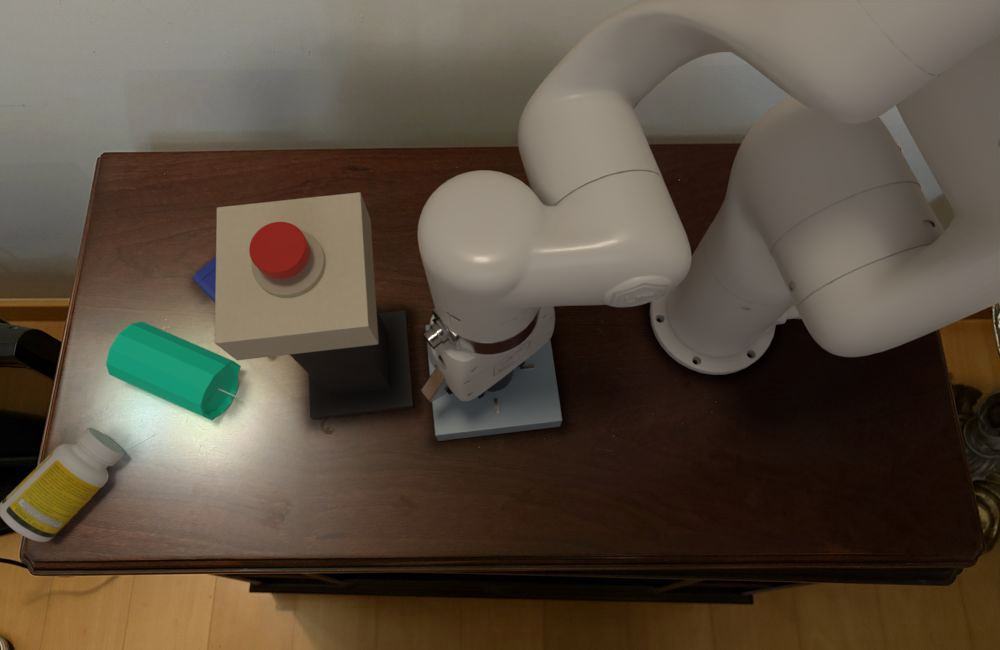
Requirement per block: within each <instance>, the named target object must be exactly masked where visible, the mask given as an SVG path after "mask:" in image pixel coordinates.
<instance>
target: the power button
mask: <svg viewBox="0 0 1000 650" xmlns="http://www.w3.org/2000/svg"><path fill="white" fill-rule="evenodd" d="M249 253H250V257H251V260H252V262H253V263H254V264H255V266H256V267H257V268H258V269H259V271H260V272H261V273H262V274H264V275H265V276H267V277H269V278H272V279H287V278H291V277H293V276H295V275H297V274H298V273H300V272H301V271H302V270H303V269H304V267H305V266H306V265H307V263H308V260H309V257H310V246H309V243H308V241H307V240H306V238H305V236H304V235H303V233H302V231H301V230H300V229H299V228H298V227H296V226H295V225H293V224H290V223H287V222H273V223H270V224H267V225H265V226H264V227H262V228H261V229H259V230H258V231H257V232H256V233H255V235H254V236H253V238H252V240H251V243H250V247H249Z"/></svg>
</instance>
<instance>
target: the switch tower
mask: <svg viewBox="0 0 1000 650" xmlns="http://www.w3.org/2000/svg"><path fill="white" fill-rule="evenodd" d="M371 221H372V220H371V216H370V214H369V211H368V209H367V206H366V202H365V201H364V198H363V196H362V193H361V192H360V191H359V192H348V193H339V194H331V195H330V194H329V195H322V196H321V195H320V196H310V197H303V198H294V199H285V200H284V199H283V200H275V201H265V202H256V203H245V204H237V205H227V206H218V207H216V229H215V231H216V233H215V234H216V236H215V237H216V238H215V239H216V240H215V257H216V296H215V302H214V306H215V307H214V309H215V310H214V344H215V345H216V346H217V347H219V348H220V349H222V351H224V352H225V353H226V354H227V355H229V356H230V357H231V358H233V359H234V360H235V361H244V360H253V359H260V358H261V359H263V358H270V357H279V356H287V355H289V356H290V357H291V358H292V359H293V360H294V361H295V362H296V363H297V364H298V365H299V366H300V367H301V368H302V369H303V370H304V371H305V372H306V373H307V374H308V392H309V393H308V395H309V418H310V419H311V420H312V421H317V420H327V419H334V418H343V417H351V416H361V415H370V414H377V413H385V412H386V413H387V412H395V411H404V410H411V409H415V397H414V385H413V371H412V360H411V359H412V358H411V347H410V346H411V345H410V333H409V322H408V320H409V319H408V313H407V310H406V309H403V310H394V311H386V312H378V310H377V297H376V283H375V282H376V280H375V267H374V252H373V236H372V235H373V234H372V222H371ZM273 222H287V223H290V224H293V225H295V226H296V227H298V228H299V229H300V230H301V231H302V233H303V235H304V236H305V238H306V240H307V241H308V243H309V246H310V257H309V260H308V263H307V265H306V266H305V267H304V269H303V270H302V271H301V272H300V273H298V274H297V275H295V276H293V277H291V278H287V279H272V278H269V277H267V276H265V275H264V274H262V273H261V272H260V271H259V269H258V268H257V267H256V266H255V264H254V263H253V262H252V260H251V257H250V253H249V247H250V243H251V240H252V238H253V236H254V235H255V233H256V232H257V231H258V230H259V229H261V228H262V227H264V226H265V225H267V224H270V223H273Z"/></svg>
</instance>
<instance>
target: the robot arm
mask: <svg viewBox="0 0 1000 650" xmlns="http://www.w3.org/2000/svg"><path fill="white" fill-rule="evenodd" d="M718 53H731V54H733V55H735V56H736V57H738V58H739V59H742V61H743V62H746V63H747V64H748V65H750V66H751V67H753V69H755V70H756V71H758V72H759V74H761V75H762V76H764V77H765V78H766V79H768V80H769V81H770V82H771V83H772V84H774V85H775V86H777V87H778V88H779V89H781V90H782V91H783V92H785V93H786V94H787V95H788V97H786V98H785V99H783V100H781V101H780V102H778V103H776V104H774V106H772V107H771V108H769V109H768V110H767V111H766V112H765V113H764V114H763V115H762V116H760V117H759V118H758V119H757V120H756V122H755V123H754V124H753V125H752V126H751V128H750V129H749V131H747V133H746V135H745V136H744V138H743V140H742V142H741V143H740V145H739V147H738V149H737V151H736V154H735V157H734V160H733V163H732V166H731V170H730V172H729V177H728V178H729V179H728V183H727V187H726V193H725V196H724V200H723V202H722V204H721V206H720V208H719V210H718V212H717V213H716V215H715V217H714V219H713V221H712V222H711V223H710V225H709V226H708V228H707V230H706V231H705V233H704V235H703V237H702V238H701V240H700V242H699V243H698V245H697V247H696V248H695V250H694V251H693V253H692V249H691V244H690V241H689V238H688V234H687V233H686V230H685V228H684V225H683V223H682V221H681V218H680V215H679V213H678V211H677V209H676V206H675V204H674V202H673V199H672V197H671V194H670V192H669V190H668V187H667V186H666V183H665V180H664V177H663V175H662V172H661V170H660V168H659V166H658V164H657V161H656V158H655V156H654V154H653V152H652V149H651V147H650V144H649V142H648V140H647V137H646V135H645V133H644V130H643V127H642V125H641V123H640V120H639V118H638V115H637V113H636V111H635V109H636V107H637V106H638V105H639V103H641V101H642V100H644V98H645V97H646V96H647V95H648V94H649V93H651V92H652V90H654V89H655V88H656V87H657V86H658V85H659V84H661V82H663V81H664V80H665V79H666V78H667V77H668V76H670V75H671V74H673V72H675V71H676V70H678V69H679V68H681V67H683V66H685V65H686V64H688V63H690V62H692V61H695V60H696V59H699V58H701V57H704V56H708V55H713V54H718ZM895 107H896V109H897V111H898V113H899V115H900V117H901V119H902V121H903V123H904V125H905V128H906V129H907V130H908V132H909V134H910V136H911V138H912V140H913V142H914V144H915V145H916V146H917V149H918V150H919V152H920V155H921V156H922V158H923V159H924V161H925V163H926V165H927V166H928V168H929V170H930V172H931V174H932V176H933V177H934V179H935V180H936V183H937V185H938V186H939V188H940V190H941V191H942V193H943V196H944V197H945V199H946V201H947V202H948V204H949V206H950V209H951V210H952V220H951V221H950V224H949V225H948V227H947V228H946V230H944V228H943V226H942V224H941V222H940V220H939V219H938V217H937V215H936V213H935V211H934V210H933V208H932V206H931V203H930V202H929V201H928V199H927V198H926V196H925V194H924V192H923V190H922V186H921V184H920V181H918V179H917V177H916V175H915V174H914V171H913V170H912V168H911V166H910V164H909V163H908V160H907V159H906V157H905V155H904V153H903V152H902V150H901V148H900V146H899V145H898V143H897V141H896V139H895V138H894V137H893V135H892V134H891V131H890V130H889V128H888V127H887V125H886V124H885V123H884V121H883V120H882V119H881V116H882V115H884V114H886V113H887V112H889V111H891V109H893V108H895ZM516 136H517V138H516V140H517V149H518V152H519V155H520V160H521V162H522V165H523V169H524V173H525V175H526V178H527V180H528V184H529V186H528V185H527V184H526V183H524V182H523V181H522V180H521V179H518V178H517V177H514V176H513V175H511V174H507V173H505V172H501V171H496V170H486V169H485V170H484V169H483V170H482V169H479V170H472V171H467V172H463V173H460V174H457V175H455V176H453V177H451V178H449V179H447V180H446V181H444V182H443V183H441V185H439V186H438V187H437V188H436V189H435V190H434V191H433V192H432V193H431V194H430V195H429V197H428V199H427V200H426V202H425V204H424V205H423V207H422V210H421V212H420V216H419V219H418V223H417V231H416V232H417V234H416V235H417V244H418V251H419V254H420V259H421V263H422V266H423V269H424V272H425V273H424V274H425V276H426V280H427V284H428V288H429V292H430V296H431V299H432V303H433V307H434V308H432V313H433V314H432V316H431V317H430V321H429V323H428V325H429V329H428V330H427V331H426V330H425V332H423V333H422V336H423V338H424V339H425V341H426V347H427V346H428V349H427V354H428V353H429V358H430V361H431V364H432V365H433V367H434V368H435V367H436V369H435V370H434V372H433V373H432V375H431V376H430V375H429V377H428V379H427V381H426V382H425V384H424V385H423V387H422V388H421V389H420V392H421V394H422V395H423V396H424V398H425V399H426V400H427V402H428V403H432V401H434V400H436V399H438V398H440V397H442V396H444V395H445V393H446V392H447V393H448V394H449V395H450V394H455V395H456V396H457V397H458V398H459V399H460V400H461V401H470V400H472V399H474V398H476V397H478V398H479V399H481V398H482V397H483V396H484V394H485V391H486V390H487V389H489V388H490V387H491V386H493V385H494V384H495V383H497V382H498V381H499V380H501V379H502V378H503V377H504V376H506V375H507V374H508V373H510V372H511V371H512V370H514V369H515V368H516V367H522V366H523V365H524V364H525V360H526V359H528V358H529V357H530V356H531V355H533V354H534V353H535V352H536V351H538V350H539V349H540V348H541V347H542V346H544V345H545V344H546V343H547V342H548V341H549V340H551V338H552V337H553V334H554V331H555V326H556V325H555V324H556V310H555V309H556V308H557V307H574V306H575V307H576V306H577V307H578V306H609V307H614V308H633V307H638V306H643V305H646V304H649V319H650V320H649V321H650V326H651V328H652V331H653V334H654V337H655V338H656V340H657V342H658V344H659V345H660V347H661V348H662V349H663V350H664V351H665V353H667V355H668V356H669V357H670V358H672V359H673V360H674V361H676V363H678V364H680V365H681V366H683V367H685V368H687V369H689V370H691V371H695V372H696V373H699V374H705V375H712V376H719V375H729V374H734V373H738V372H740V371H742V370H745V369H746V368H748V367H750V366H752V364H754V363H755V362H757V361H758V360H759V359H760V358H761V357H762V356H763V355H764V354H765V353H766V351H767V350H768V348H770V345H771V343H772V340H773V338H774V336H775V332H776V326H777V325H783V324H785V323H786V322H787V320H793V319H795V320H802V322H803V324H804V326H805V328H806V329H807V331H808V333H809V335H810V337H812V339H813V341H814V342H816V344H817V345H818V346H820V348H821V349H823V350H824V351H826V352H827V353H829V354H832V355H835V356H838V357H844V358H859V357H860V358H861V357H867V356H871V355H874V354H879V353H883V352H886V351H888V350H891V349H895V348H897V347H900V346H902V345H904V344H907V343H909V342H910V343H911V342H913V341H914V340H917V339H920V338H922V337H924V336H926V335H929V334H931V333H933V332H936V331H938V330H941V329H942V328H945V327H947V326H950V325H951V324H953V323H956V322H958V321H961V320H963V319H965V318H968V317H970V316H972V315H975V314H977V313H979V312H981V311H984V310H986V309H988V308H990V307H993V306H995V305H998V304H1000V0H637V1H635V2H632V3H630V4H629V5H626V6H623V7H622V8H620V9H618V10H615V11H614V12H612V13H611V14H609V15H607V17H605V18H603V19H602V20H601V21H599V22H598V23H596V24H595V25H594V26H593V27H592V28H590V30H588V31H587V32H586V33H585V34H584V35H583V36H582V37H581V38H580V39H579V40H578V41H577V42H576V43H575V44H574V45H573V46H572V48H571V49H570V50H569V51H568V52H567V53H566V54H565V56H564V57H563V58H562V59H561V60H560V61H559V62H558V63H557V64H556V65H555V67H554V68H552V70H551V71H550V72H549V73H548V75H547V76H546V77H545V78H544V79H543V80H542V81H541V82H540V84H539V85H538V87H537V88H536V90H535V91H534V92H533V93H532V95H531V96H530V98H529V99H528V101H527V103H526V104H525V106H524V108H523V111H522V113H521V115H520V118H519V121H518V124H517V135H516ZM658 320H659V321H660V322H659V321H658ZM748 355H749V356H750V357H749V356H748ZM694 362H696V364H695V363H694Z"/></svg>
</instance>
